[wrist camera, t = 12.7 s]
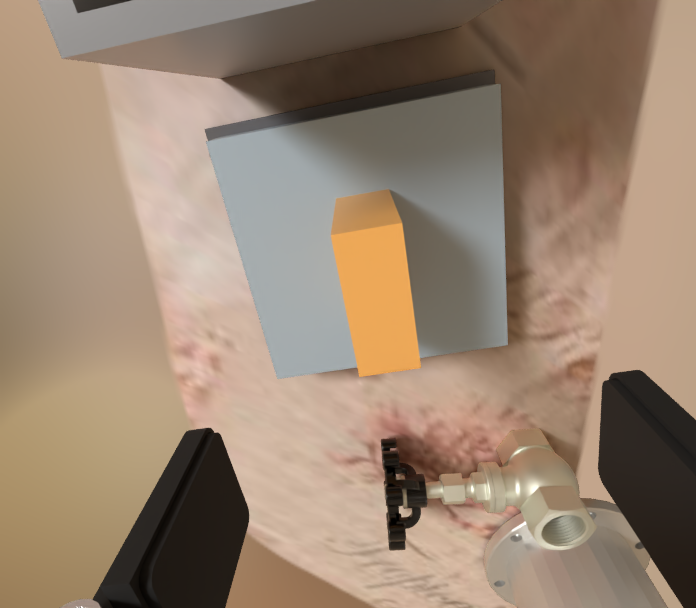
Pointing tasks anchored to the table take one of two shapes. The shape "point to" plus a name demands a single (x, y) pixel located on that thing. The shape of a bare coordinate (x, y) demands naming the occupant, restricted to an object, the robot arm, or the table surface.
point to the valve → (497, 491)
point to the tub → (239, 30)
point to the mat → (355, 104)
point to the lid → (373, 232)
